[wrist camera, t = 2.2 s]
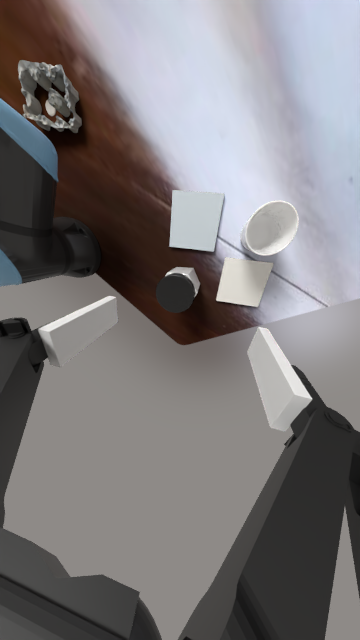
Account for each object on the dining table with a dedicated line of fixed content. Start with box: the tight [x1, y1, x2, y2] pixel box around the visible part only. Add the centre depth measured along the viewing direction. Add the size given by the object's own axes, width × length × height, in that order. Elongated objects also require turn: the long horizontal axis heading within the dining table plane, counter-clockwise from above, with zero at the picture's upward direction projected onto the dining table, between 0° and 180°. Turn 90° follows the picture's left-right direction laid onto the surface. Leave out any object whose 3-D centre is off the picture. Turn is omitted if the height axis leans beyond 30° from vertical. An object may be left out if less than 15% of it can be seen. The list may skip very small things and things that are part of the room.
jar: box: [156, 267, 200, 313], centre depth 36 cm, size 9×8×12 cm
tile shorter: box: [216, 257, 274, 307], centre depth 38 cm, size 11×11×1 cm
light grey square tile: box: [170, 190, 225, 252], centre depth 35 cm, size 11×11×1 cm
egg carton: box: [18, 60, 82, 133], centre depth 29 cm, size 11×8×4 cm
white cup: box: [240, 200, 299, 256], centre depth 29 cm, size 8×8×10 cm
